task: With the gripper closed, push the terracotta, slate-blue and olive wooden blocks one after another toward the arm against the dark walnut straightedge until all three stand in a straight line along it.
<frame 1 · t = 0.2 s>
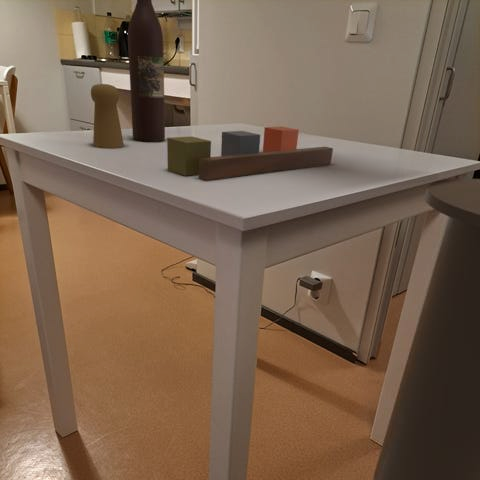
terracotta block: (279, 153, 96), on the table
wine bottle: (149, 140, 102), on the table
olive block: (188, 171, 75), on the table
slate-blue block: (239, 161, 85), on the table
straightedge: (271, 170, 80), on the table
cork: (108, 146, 92), on the table
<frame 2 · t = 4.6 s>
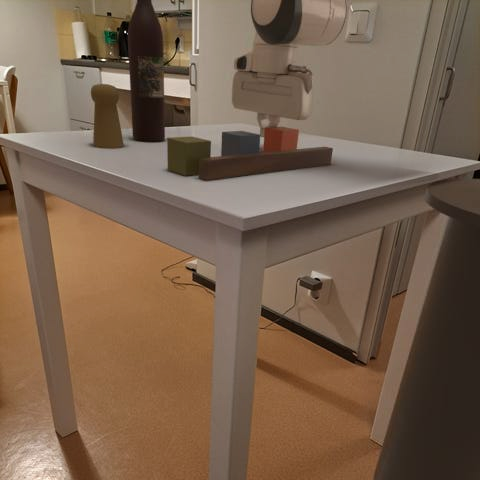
hand: (266, 137, 97), 3 cm above the table, tool pointing down, fingers closed
terracotta block: (279, 154, 96), on the table, touching gripper
everything else where it was.
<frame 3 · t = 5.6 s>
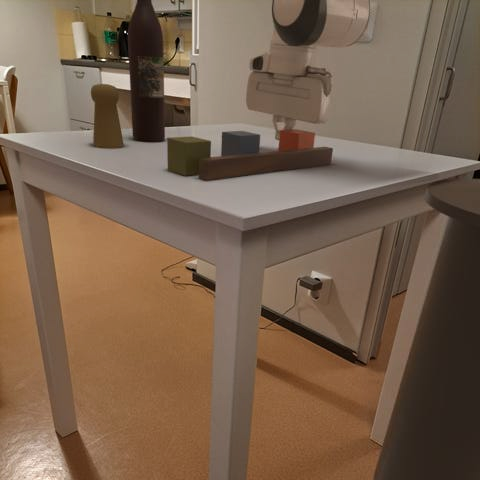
hand: (281, 140, 94), 3 cm above the table, tool pointing down, fingers closed
terracotta block: (294, 157, 93), on the table, touching gripper
everything else where it was.
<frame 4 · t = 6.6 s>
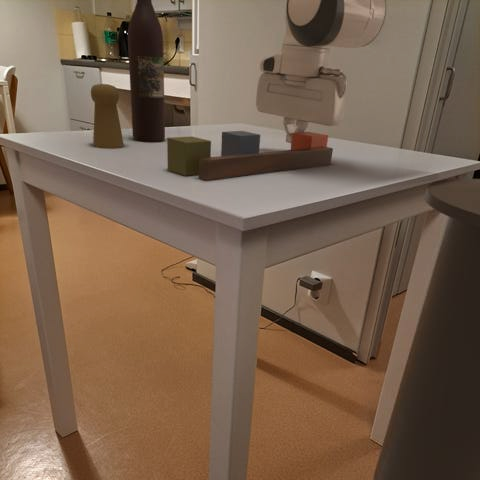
hand: (293, 143, 92), 3 cm above the table, tool pointing down, fingers closed
terracotta block: (306, 160, 91), on the table, touching gripper
everything else where it was.
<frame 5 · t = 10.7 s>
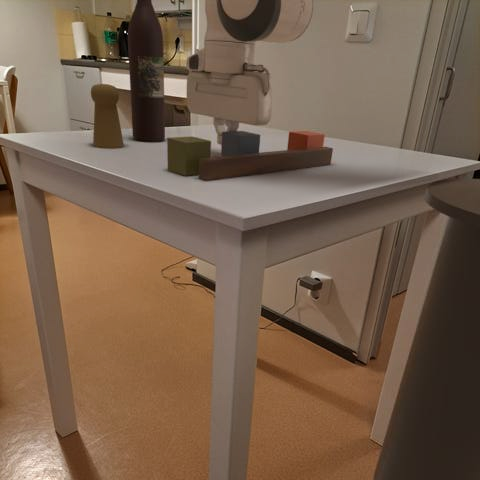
hand: (225, 145, 87), 2 cm above the table, tool pointing down, fingers closed
terracotta block: (303, 159, 92), on the table
slate-blue block: (239, 161, 85), on the table, touching gripper
everything else where it was.
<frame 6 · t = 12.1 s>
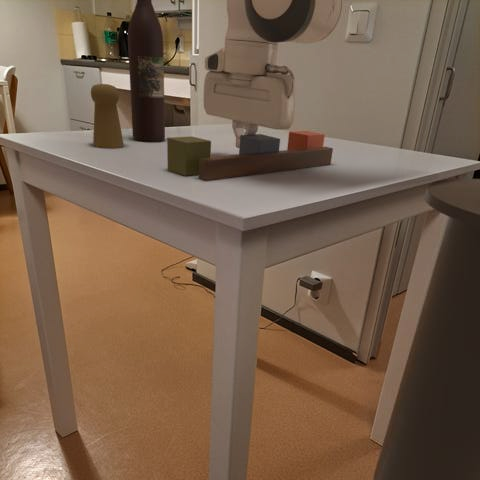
hand: (243, 148, 84), 2 cm above the table, tool pointing down, fingers closed
slate-blue block: (257, 166, 82), on the table, touching gripper, straightedge
everything else where it was.
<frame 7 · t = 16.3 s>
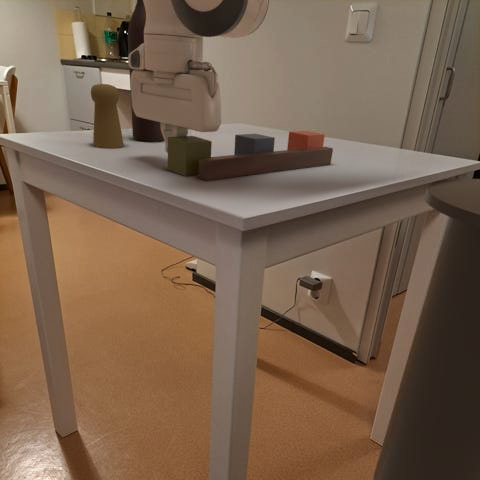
hand: (174, 153, 77), 2 cm above the table, tool pointing down, fingers closed
olive block: (188, 171, 75), on the table, touching gripper
slate-blue block: (252, 165, 83), on the table
everything else where it was.
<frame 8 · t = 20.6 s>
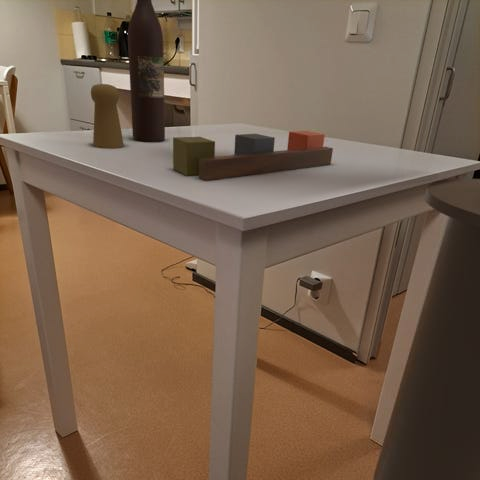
olive block: (193, 171, 75), on the table
everything else where it was.
at the end: terracotta block 0.7 cm from the target spot on the table beside the straightedge, on the table; slate-blue block 0.5 cm from the target spot on the table beside the straightedge, on the table; olive block 1.2 cm from the target spot on the table beside the straightedge, on the table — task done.
